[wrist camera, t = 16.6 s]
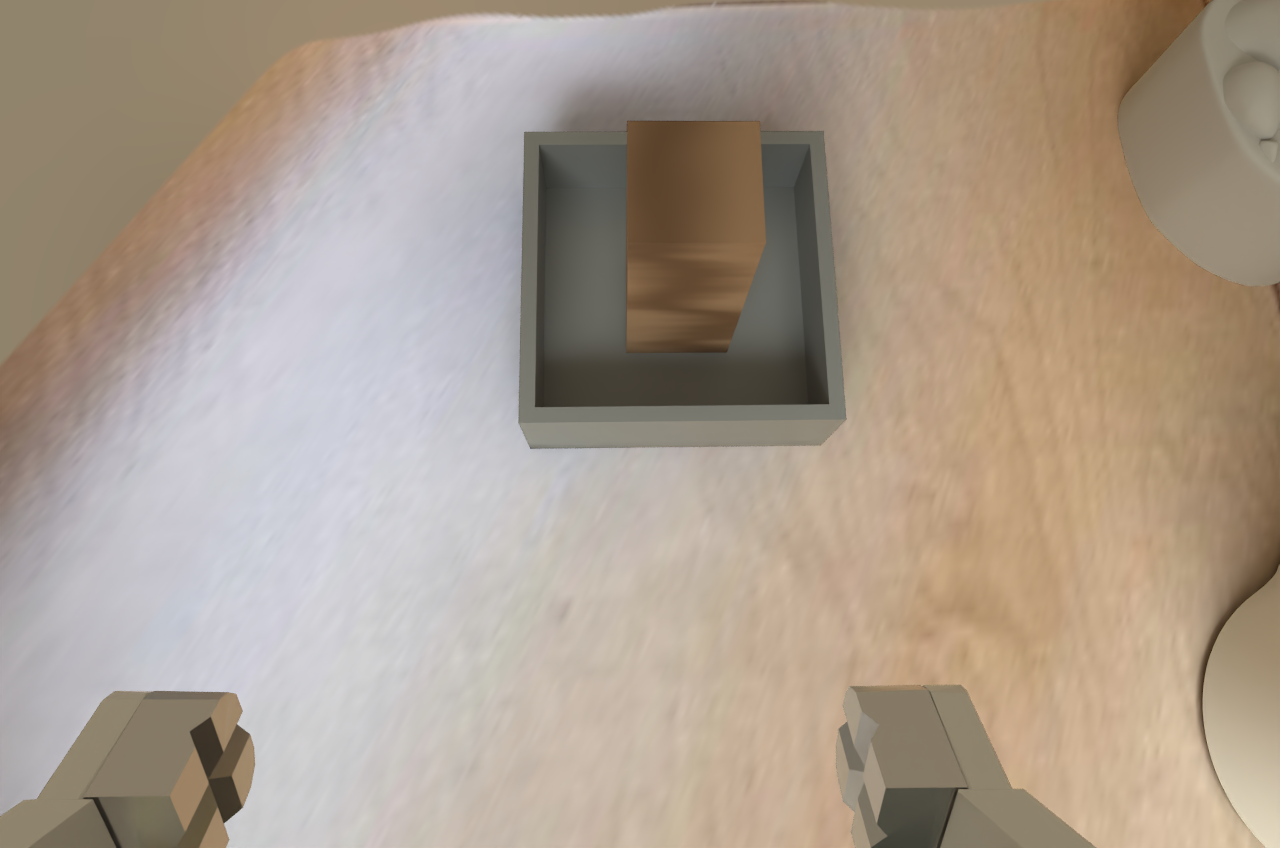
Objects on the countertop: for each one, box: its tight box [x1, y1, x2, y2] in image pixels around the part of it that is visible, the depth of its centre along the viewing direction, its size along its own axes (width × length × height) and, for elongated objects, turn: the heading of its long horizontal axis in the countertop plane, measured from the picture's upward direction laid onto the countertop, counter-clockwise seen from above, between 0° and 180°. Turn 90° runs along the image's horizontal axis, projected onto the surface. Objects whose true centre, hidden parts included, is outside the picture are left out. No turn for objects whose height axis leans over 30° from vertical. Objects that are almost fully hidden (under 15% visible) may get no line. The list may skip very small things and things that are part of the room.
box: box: [519, 131, 846, 449], centre depth 42 cm, size 14×14×5 cm
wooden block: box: [626, 121, 766, 353], centre depth 37 cm, size 5×5×12 cm
